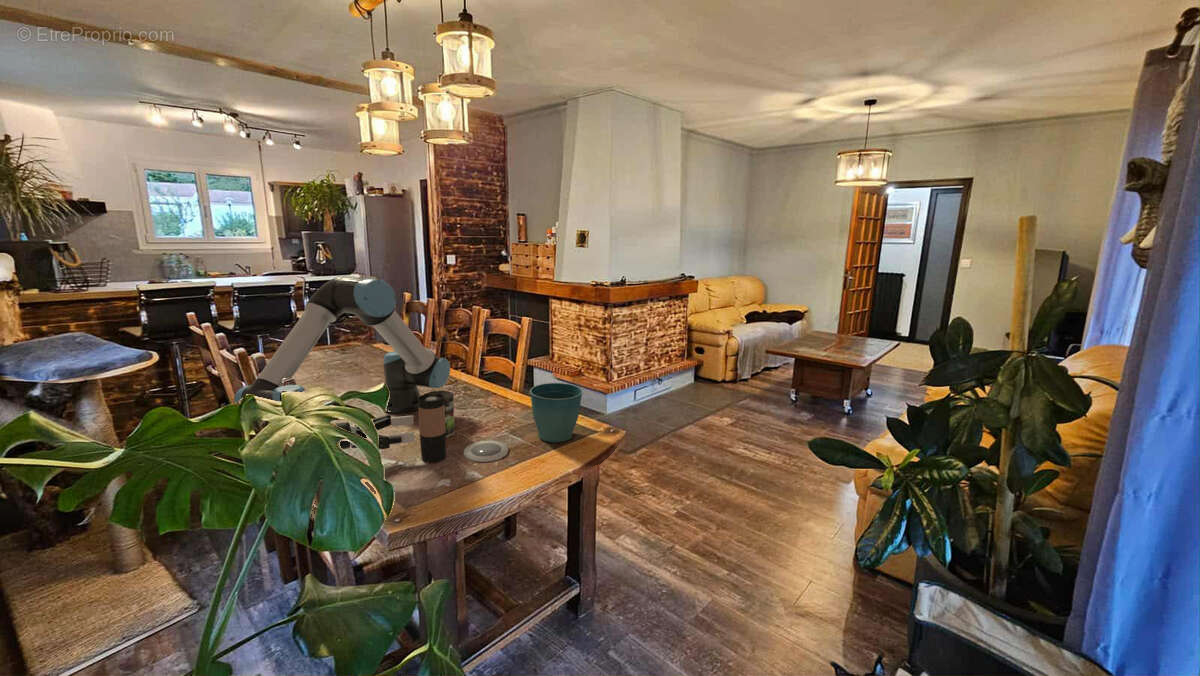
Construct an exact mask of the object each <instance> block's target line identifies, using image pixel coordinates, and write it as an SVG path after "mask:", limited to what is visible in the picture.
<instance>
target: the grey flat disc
mask: <svg viewBox="0 0 1200 676" xmlns="http://www.w3.org/2000/svg"><path fill="white" fill-rule="evenodd" d="M508 453H509V446H508V444H506V443H504V442H501V441H497V440H482V441H477V442H473V443H471V444H468V445H467V446H466V447H464V450H463V456H464V458H465V459H466V460H468V461H472V462H475V463H488V462H495V461H498V460H500V459H503V458H504V457H506V456H507V455H508Z"/></svg>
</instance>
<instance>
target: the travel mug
mask: <svg viewBox="0 0 1200 676" xmlns="http://www.w3.org/2000/svg"><path fill="white" fill-rule="evenodd" d="M424 394H425V395H424ZM424 394H421V396H420V397H419V398H418V424H419V425H418V428H419V429H418V430H419V431H418V432H419V442H420V454H421V461H422V460H423V461H422V462H423V463H426V462H429V463H428V464H435V462H436V463H439V461H440V462H442V461H444V460H445V459H446V456H447V450H446V449H447V441H446V440H447V438H446V427H445V407H444V396H443V395H442V394H436V395H429V394H426V393H424ZM443 459H444V460H443Z"/></svg>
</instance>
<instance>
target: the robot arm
mask: <svg viewBox="0 0 1200 676" xmlns="http://www.w3.org/2000/svg"><path fill="white" fill-rule="evenodd" d="M395 297H396V293H395V291H394V288H393V287H392V286H391V284H389V283H387V282H386V281H384V280H382V279H377V278H374V277H366V278H365V277H355V276H345V275H344V276H337V277H334V278H332V279H330V280H328V281H327V282H325V283H324V284H323V285H321V286H320V287H319V288H318V289H317V290H316V291H315V292H314V293H312V295H311V297H309V299H308V301H307V302H306V303H305V305H304V306H305V307H304V308H305V310H304V312H303V313H302V315H301V316H300V318H299V319H298V320H297V322H296V323H295V325H293V328H292V329H291V330H290V332H289V333H288V334H287V336H286V337H285V339H283V341H282V342H281V344H280V345H279V347H278V348H277V349H276V351H275V352H274V354H273V355H272V357H271V358H270V360H268V361H267V363H266V365H265V366H264V368H263V369H262V370H261V372H260V373H259V375H258V376H257V378H255V380H254V381H253V382H252V384H250V385H244V386H242V387H241V388H239V389H238V390H237V391H236V393H235V394H234V396H233V397H234V398H233V403H234V404H235V402H238V401H239V400H240V399H241V398H242V397H243V396H244V395H246V394H253V395H255V396H258V397H263V398H267V399H271V400H275V401H280V394H281V392H282V391H299V392H303V391H305V392H306V389H305V387H304V386H303V385H300V384H288V385H285V386H283V383H282V379H283V378H292V379H293V377H294V376H295V374H296V373H297V372H298V370H299V368H301V366H302V364H303V363H304V361H305V359H306V358H307V357H308V355H309V354H310V353H311V352H312V350H313V349H314V346H315V345H316V344H317V343H318V340H319V339H320V338H321V337H322V335H323V334H324V332H325V330H326V329H327V328H328V327H329V325H330V323H334V322H336V321H337V319H338V318H339V317H340V316H341V315H343V314H352V315H355V316H357V318H358V319H359V320H360V321H361V322H362V323H363V324H364V325H365V326H367V327H373V328H374V329H375V331H377V332H378V334H379V335H380V336H381V337H382V338H383V339H384V340H385V341H386V343H387V344H388V345H389V346H390V347H391V348H392V349H393V350H394V351H393V350H392V351H390V352H386V353H385V354H384V357H383V370H384V371H383V372H384V374H383V375H384V383H385V384H386V385H387V386H388V388H389V391H390V399H389V402H388V406H387V412H386V413H388V410H389V411H391V412H393V413H392V414H406V413H410V412H414V411H417V410H418V411H419V409H418V398H419V397H420V396H422V394H421V393H420V390H419V387H423V388H424V387H425V388H431V389H440V388H442V387H444V386H445V385H446V383H447V381H448V379H449V378H450V373H451V364H450V361H448V359H446V358H444V357H438V356H437V354H436V353H435V352H434V351H433V349H431V348H429V347H424V345H423V344H422V342H421V341H420V340H419V338H417V336H416V335H415V333H414V332H413V330H412V329H410V327H409V326H408V325H407V324H406V322H404V320H403V319H402V317H401V316H400V315H399V314H398V312H397V311H396V309H397V306H396V302H397V298H395ZM386 385H385V386H386ZM418 386H419V387H418ZM373 419H374V420H373V422H374V424H375V427H376V429H377V431H379V430H382V429H384V428H387V427H389V426H390V427H391V428H392V427H401V426H410V425H415V424H414V423H415V422H414V415H413V414H412V415H405V416H396V417H395V416H394V417H392V415H391V414H387V415H382V416H378V417H375V418H373ZM334 425H337V426H338V427H341V428H343V429H345V430H347V431H350V432H353V433H355V434H358V435H360V436H362V437H364V438H367V437H366V435H365V434H364V433H363V431H362V430H361V429H360V428H359V427H357V426H356V425H355V424H354V425H355V426H353V427H352V426H351V425H350V423H349V422H337V423H334ZM414 432H415V431H411V432H410V431H409V432H402V433H393V434H389V436H387V435H382V434H378V436H379V449H378V450H387V449H390V448H391V445H398V444H406V443H407V444H408V443H414V442H415V433H414ZM340 446H341V448H342V449H341V450H347V449H350V448H351V449H357V447H356V446H355V445H353V444H352V443H350V442H348V441H341V442H340Z"/></svg>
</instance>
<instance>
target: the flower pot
mask: <svg viewBox="0 0 1200 676" xmlns="http://www.w3.org/2000/svg"><path fill="white" fill-rule="evenodd" d="M529 395H530V400H531V411H532V416H533V417H532V418H533V421H534V423H535V427H536V429H537V434H538V438H539V439H541V440H542V441H545V442H547V443H563V442H567V441H569V440H570V439H572V438H573V435H574V434H573V433H574V429H575V427H576V424H577V422H578V420H579V416H580V415H579V414H580V409H581V401H582V395H583V389H582V388H581V387H579V386H577V385H575V384H571V383H564V382H547V383H541V384H537V385H534V386H533V387H531V388H530V390H529Z"/></svg>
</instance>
